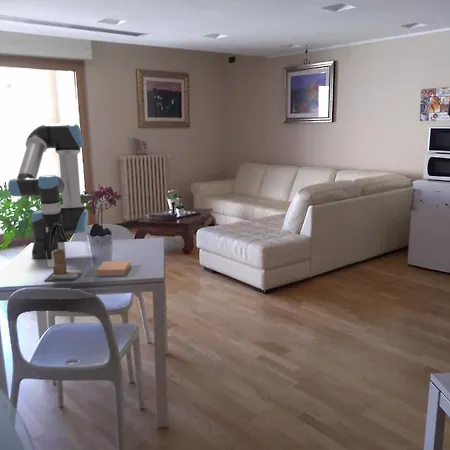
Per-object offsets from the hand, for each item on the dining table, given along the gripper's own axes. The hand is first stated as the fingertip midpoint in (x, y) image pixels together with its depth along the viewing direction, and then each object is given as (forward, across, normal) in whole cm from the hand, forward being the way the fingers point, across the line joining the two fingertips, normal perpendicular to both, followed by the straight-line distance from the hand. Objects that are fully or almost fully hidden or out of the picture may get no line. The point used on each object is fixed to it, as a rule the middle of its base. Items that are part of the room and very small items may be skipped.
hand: (57, 261), depth 199 cm
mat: (+7, +6, -22) cm, 24 cm away
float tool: (+6, 0, -4) cm, 7 cm away
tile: (+5, +6, -16) cm, 18 cm away
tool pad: (+7, 0, -2) cm, 7 cm away
